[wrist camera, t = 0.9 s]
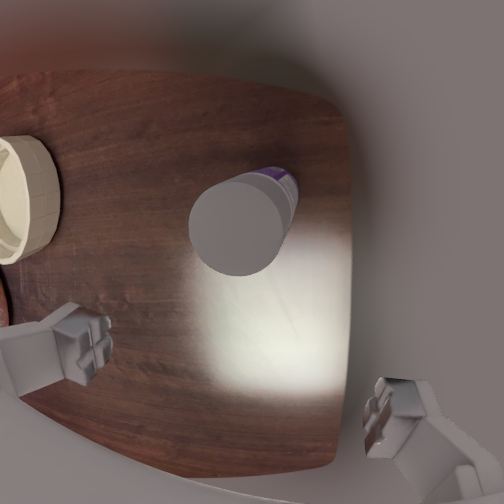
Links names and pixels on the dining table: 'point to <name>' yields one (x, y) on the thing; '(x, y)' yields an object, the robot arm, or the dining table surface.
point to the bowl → (26, 198)
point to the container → (244, 220)
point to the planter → (3, 308)
